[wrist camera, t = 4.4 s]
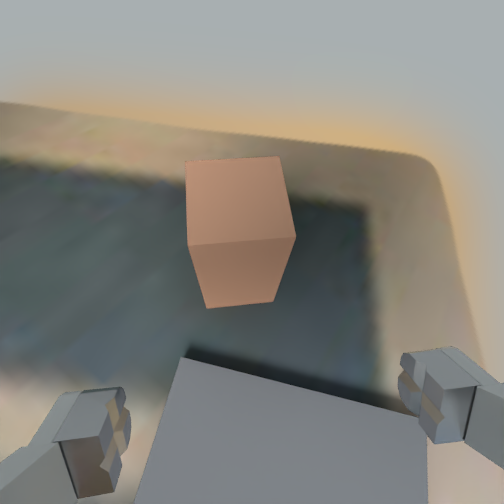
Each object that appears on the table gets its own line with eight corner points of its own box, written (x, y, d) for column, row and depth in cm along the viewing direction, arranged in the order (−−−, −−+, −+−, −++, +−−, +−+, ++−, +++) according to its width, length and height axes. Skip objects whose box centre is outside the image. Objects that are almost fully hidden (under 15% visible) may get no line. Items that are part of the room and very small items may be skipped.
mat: (106, 597, 16) (99, 609, 15) (183, 358, 21) (180, 356, 20) (420, 695, 15) (432, 714, 14) (417, 419, 20) (426, 419, 19)
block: (206, 308, 23) (187, 245, 14) (203, 248, 25) (185, 161, 16) (273, 301, 23) (296, 236, 14) (264, 243, 25) (279, 156, 17)
